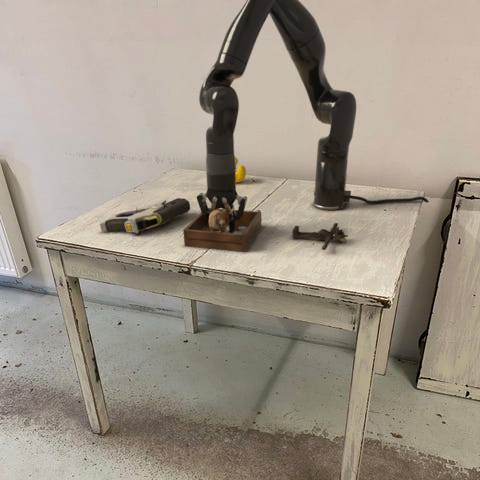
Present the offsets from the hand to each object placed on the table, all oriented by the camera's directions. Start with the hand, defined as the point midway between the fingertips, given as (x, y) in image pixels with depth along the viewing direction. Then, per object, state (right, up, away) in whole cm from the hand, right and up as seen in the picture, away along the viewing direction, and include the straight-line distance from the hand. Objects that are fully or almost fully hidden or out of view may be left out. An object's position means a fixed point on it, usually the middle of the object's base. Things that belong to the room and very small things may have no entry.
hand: (223, 231), depth 133 cm
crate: (0, -1, +1) cm, 1 cm away
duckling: (+2, +26, +43) cm, 50 cm away
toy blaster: (-23, +4, +10) cm, 25 cm away
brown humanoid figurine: (+26, -3, -3) cm, 27 cm away
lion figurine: (0, -1, +1) cm, 1 cm away
